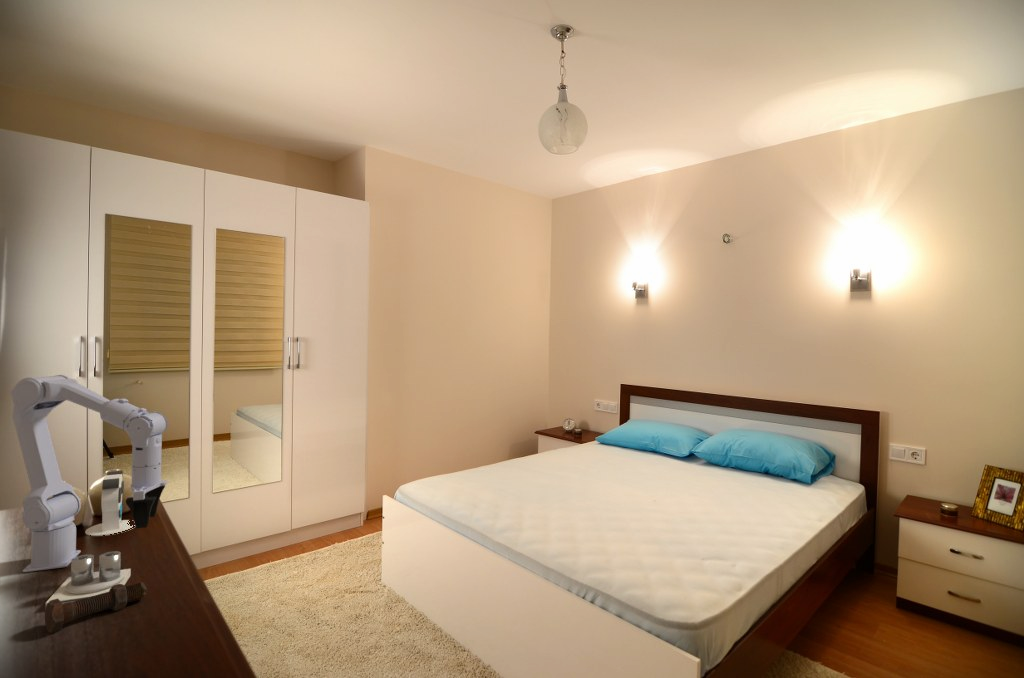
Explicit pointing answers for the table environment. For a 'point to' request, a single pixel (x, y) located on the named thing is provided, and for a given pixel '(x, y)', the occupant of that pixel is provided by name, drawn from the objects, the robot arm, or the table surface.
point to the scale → (87, 588)
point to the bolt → (91, 605)
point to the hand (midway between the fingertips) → (145, 522)
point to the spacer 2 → (109, 566)
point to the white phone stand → (111, 506)
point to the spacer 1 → (82, 570)
